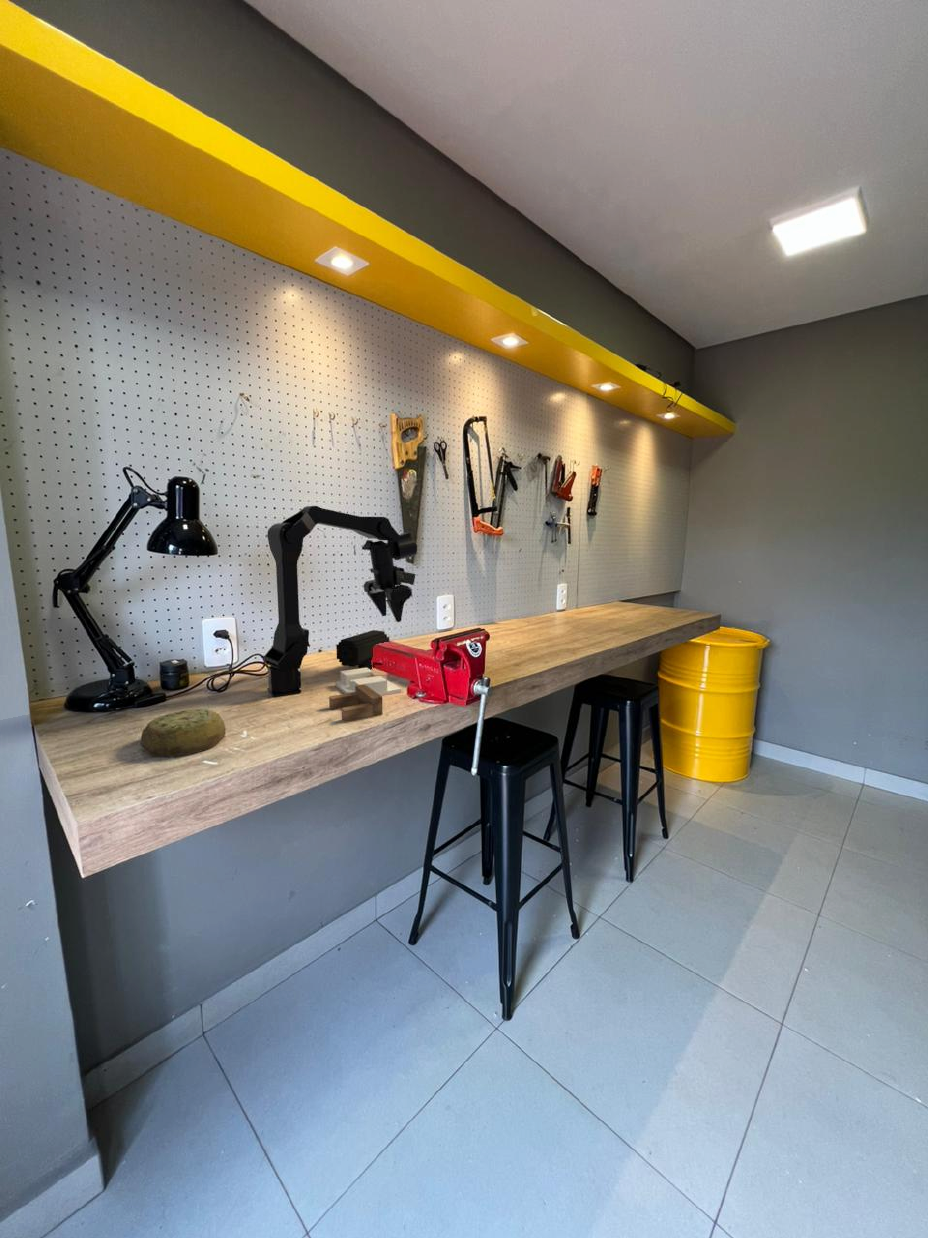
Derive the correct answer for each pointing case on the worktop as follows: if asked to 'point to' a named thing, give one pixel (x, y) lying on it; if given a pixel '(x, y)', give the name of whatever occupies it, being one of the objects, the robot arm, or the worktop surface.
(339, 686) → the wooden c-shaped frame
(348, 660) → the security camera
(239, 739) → the worktop surface
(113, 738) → the worktop surface
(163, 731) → the olive green pebble
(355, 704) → the wooden c-shaped bracket
